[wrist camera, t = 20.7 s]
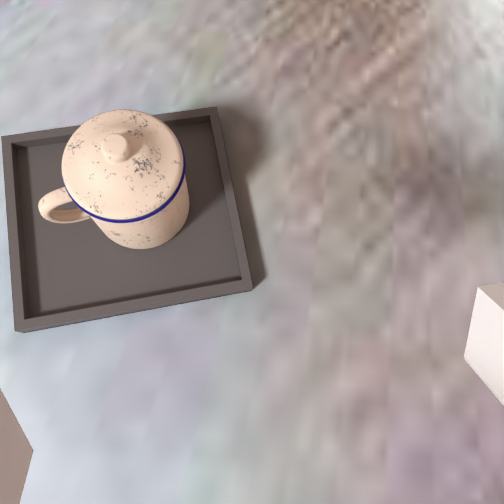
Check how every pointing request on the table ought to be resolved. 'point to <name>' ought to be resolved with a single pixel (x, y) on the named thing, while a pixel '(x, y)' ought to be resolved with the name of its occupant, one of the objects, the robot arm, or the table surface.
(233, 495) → the table surface
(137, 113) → the teacup with lid
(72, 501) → the table surface
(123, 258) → the tea tray
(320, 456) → the table surface
